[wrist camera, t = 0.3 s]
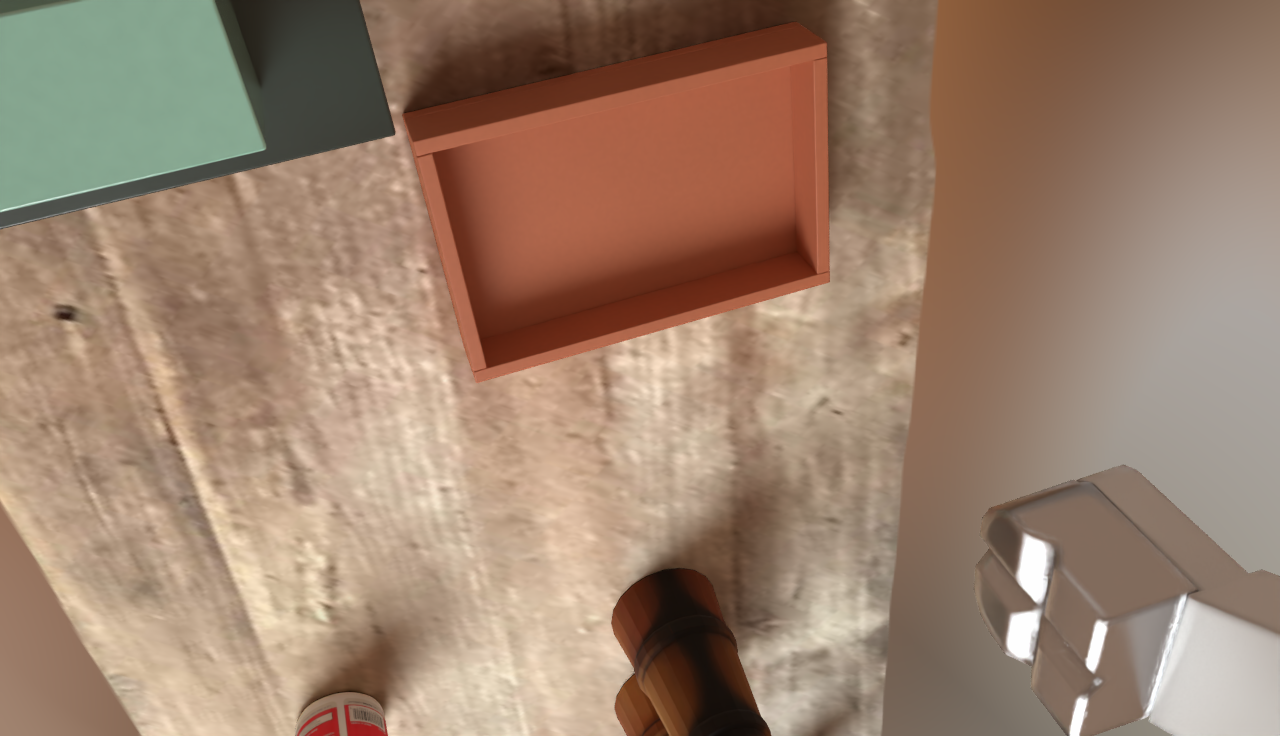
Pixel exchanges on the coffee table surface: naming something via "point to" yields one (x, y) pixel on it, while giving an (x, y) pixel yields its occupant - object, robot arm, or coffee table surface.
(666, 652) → the binoculars
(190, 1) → the bottle
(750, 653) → the coffee table surface
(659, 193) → the tray
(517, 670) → the coffee table surface
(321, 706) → the pill bottle
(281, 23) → the stand
